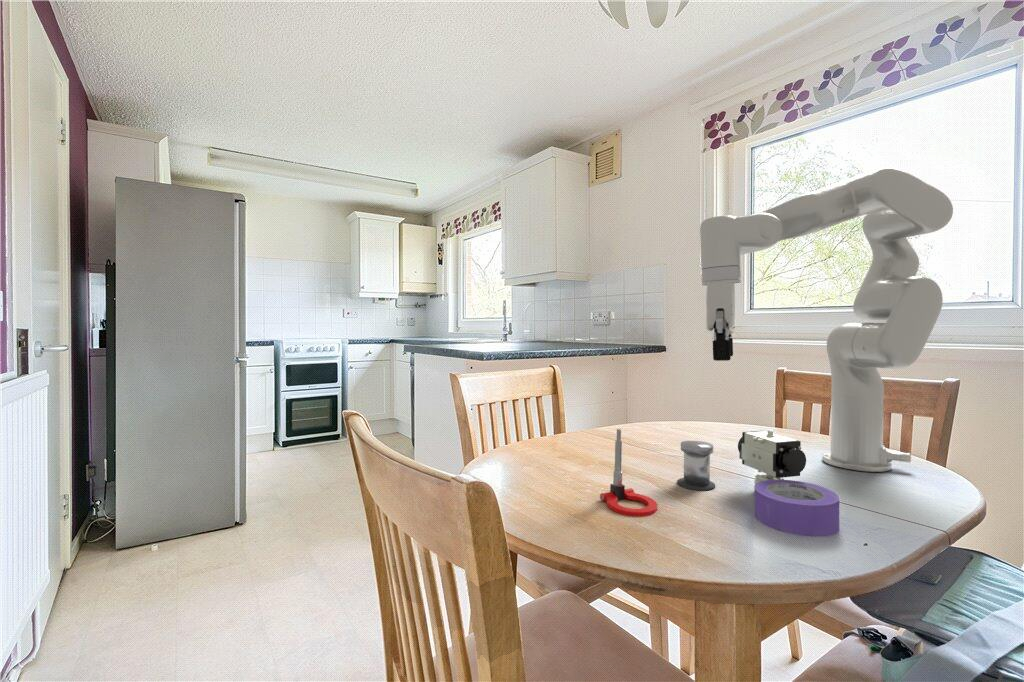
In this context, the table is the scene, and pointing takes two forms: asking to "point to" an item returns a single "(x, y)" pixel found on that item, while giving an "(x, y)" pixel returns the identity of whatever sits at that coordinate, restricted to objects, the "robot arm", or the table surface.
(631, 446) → the table surface
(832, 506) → the tape roll
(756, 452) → the pneumatic valve
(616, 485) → the tow hook
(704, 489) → the pad
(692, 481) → the cylinder
